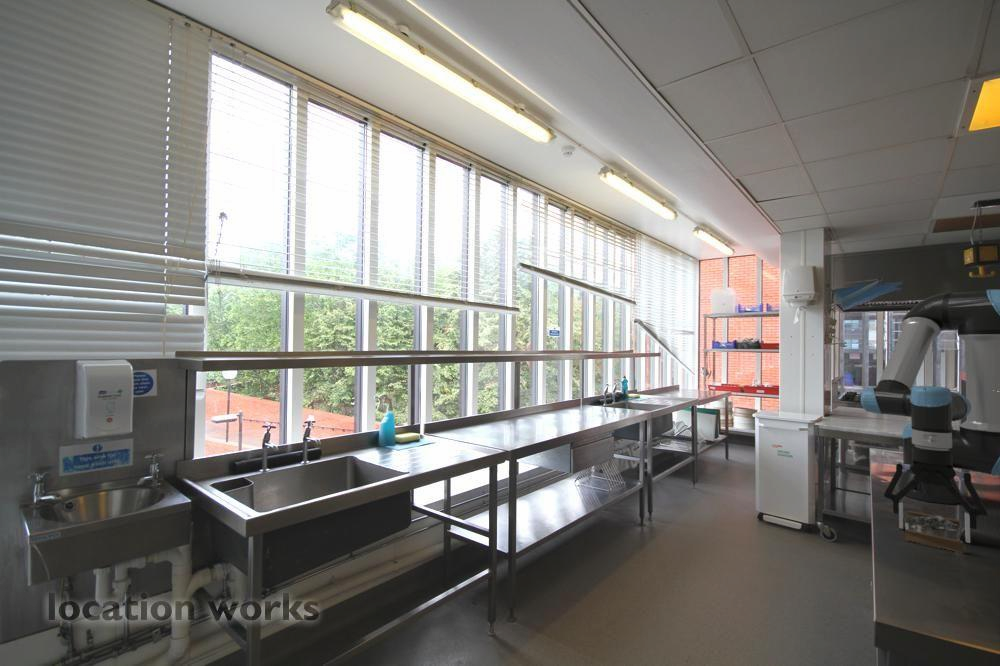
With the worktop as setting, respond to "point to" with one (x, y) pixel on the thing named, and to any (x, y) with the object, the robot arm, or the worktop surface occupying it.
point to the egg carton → (933, 526)
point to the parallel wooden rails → (933, 536)
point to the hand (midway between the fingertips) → (933, 533)
